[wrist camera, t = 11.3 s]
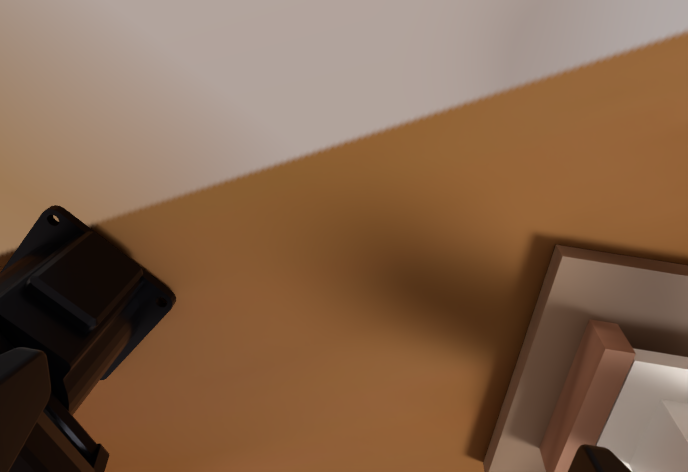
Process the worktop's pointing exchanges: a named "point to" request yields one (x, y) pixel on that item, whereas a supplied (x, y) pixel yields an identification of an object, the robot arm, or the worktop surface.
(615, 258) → the rail board
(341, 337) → the worktop surface
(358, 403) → the worktop surface
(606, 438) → the slider
